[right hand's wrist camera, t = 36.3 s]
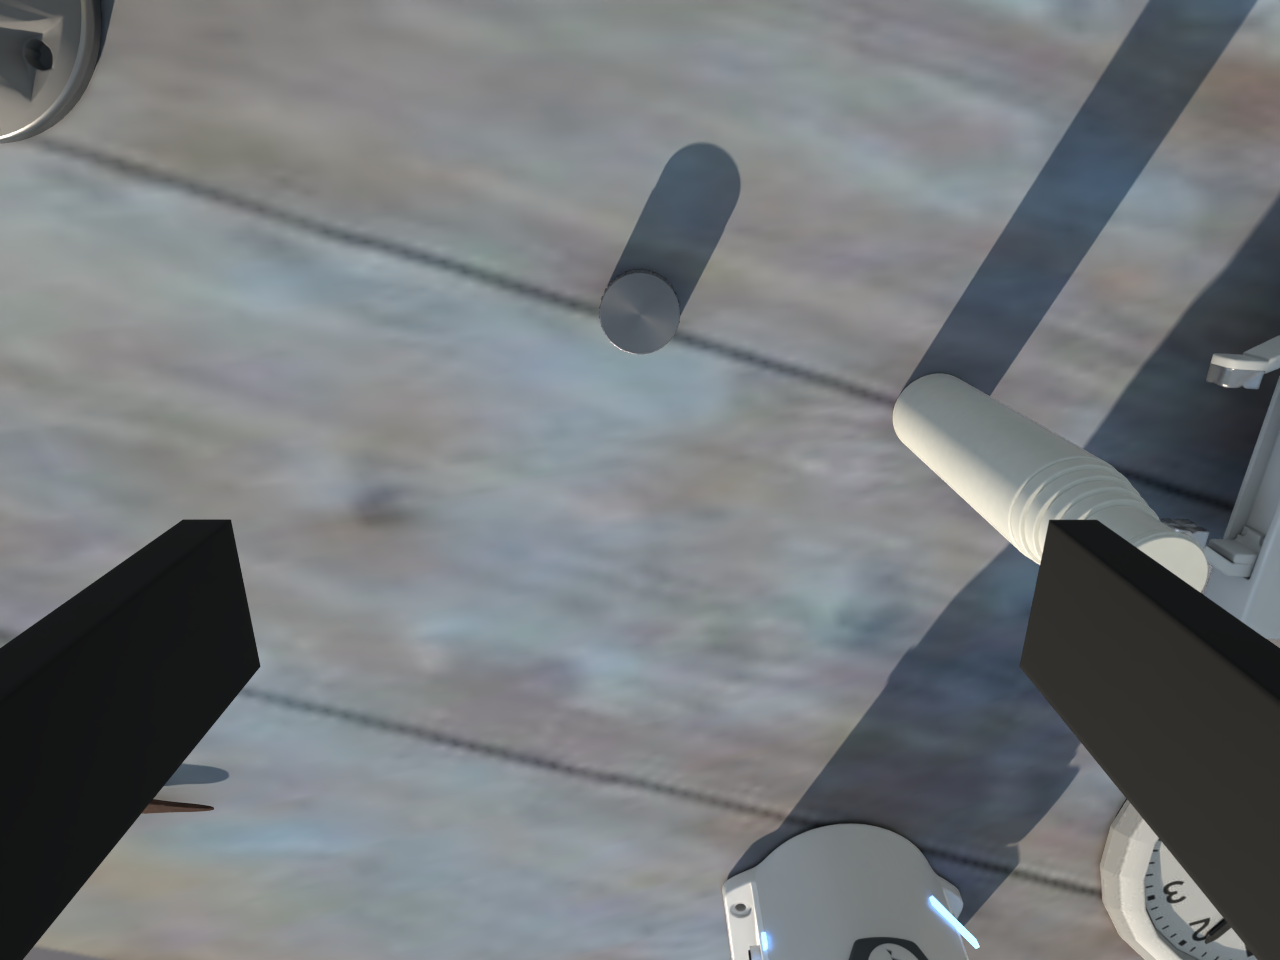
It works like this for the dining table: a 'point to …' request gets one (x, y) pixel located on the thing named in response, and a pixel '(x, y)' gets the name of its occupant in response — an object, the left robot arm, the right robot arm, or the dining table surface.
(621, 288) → the cap
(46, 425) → the dining table surface
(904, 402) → the bottle
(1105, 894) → the wall clock
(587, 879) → the dining table surface
